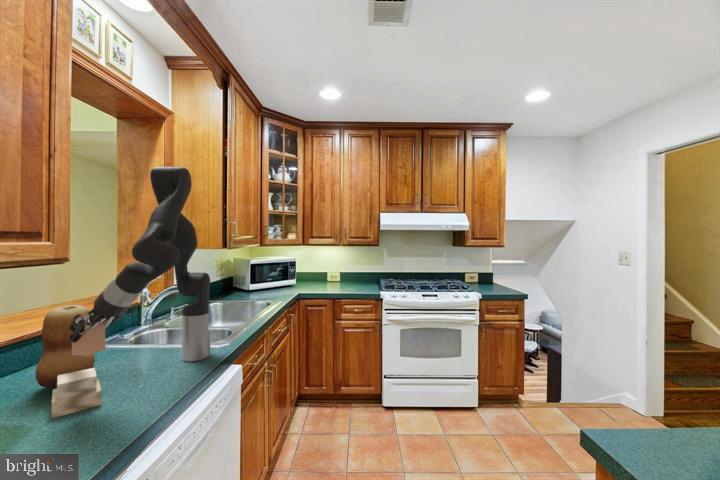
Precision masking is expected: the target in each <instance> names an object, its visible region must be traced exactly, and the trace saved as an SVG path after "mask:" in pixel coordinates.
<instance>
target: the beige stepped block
mask: <svg viewBox="0 0 720 480" xmlns="http://www.w3.org/2000/svg"><path fill="white" fill-rule="evenodd" d="M97 377H98V376H97V372H96V368H95V367H93V368H91V369H86V370H81V371H76V372H71V373H66V374H62V375H58V378H57V388H56V389H55V388H52V393H51V396H52V397H51V419H54V418H59V417H62V416H65V415H68V414H73V413H77V412H81V411H84V410H87V409H91V408H95V407H98V406H102V387H101V383H100V379H99V378H97Z"/></svg>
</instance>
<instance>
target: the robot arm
mask: <svg viewBox="0 0 720 480" xmlns="http://www.w3.org/2000/svg"><path fill="white" fill-rule="evenodd" d="M149 173H150V175H149V178H150V184H151V188H152V190H153V193H154V196H155V199H156V202H157V206H156V207H155V208H153V209H154V210H153V211H152V212H151V214H150V217H149V220H148V223H147V228H146V229H145V231H144V233H143V235H142V236H141V237H139V239H138V240H137V241H136V242H135V243H134V245H133V246H132V249H131V255H132V258H133V259H134V260H136V261H135V262H130V263H128V264H126V266H124V268H123V269H122V270H121V271H120V272H119V274H117V276H116V277H115V278H114V279H113V280H111V281H110V282H108V285H107V286H106V287H105V288H104V289H103V290H102V291H101V293H100V294H99V295H97V297H96V298H95V299H94V301H93V308H92V309H90V311H89V312H88V314H87V315H84V316H81V315H80V314H79V315H76V316H75V317H74V319H73V321H72V323H71V325H70V327H69V329H70V330H71V332H72V334H71V335H70V336H69V339H70V340H71V341H72V342H73V343H75V342H77V341H78V340H79V339H80V338H81V337H82V335H83V334H84V333H85V332H86V331H88V330H89V329H93V328H94V327H95V326H97V325H98V324H99V323H101V322H104V325H105V328H107V327H109V325H114V324H115V323H117V322H118V321H119V320H120V319H121V318H122V317H124V316H125V314H127V313H128V312H129V308H130V307H131V305H133V303H134V302H135V301H136V300H137V299H138V298H139V297H140V295H141V293H142V292H143V291H144V290H145V289H146V287H147V286H148V285H149V284H150V283H151V282H152V281H154V280H155V279H157V278H158V277H160V276H162V275H164V274H165V273H167V272H168V271H170V270H171V269H172V268H174V275H175V280H176V287H177V291H178V293H179V295H180V296H182V297H197V300H196V301H195V302H193V303H190V304H187V305H184V306H183V307H182V309H181V317H182V319H181V322H182V323H181V326H182V327H181V359H182V361H184V362H197V361H201V360H204V359H207V358H208V357H211V332H210V331H209V330H210V328H209V326H210V324H209V323H210V321H209V315H210V314H209V313H210V311H209V310H210V291H211V279H210V278H211V277H210V275H209V273H208V272H190V271H189V270H188V264H189V261H190V259H192V257H193V255H194V253H195V252H196V250H197V247H198V237H197V233H196V228H195V225H193V223H192V221H190V220H189V218H187V216H185V215H184V214H183V213H182V211H183V209H184V207H185V205H186V203H187V201H188V198H189V196H190V194H191V191H192V185H193V184H192V183H193V182H192V176H191V173H190V171H189V169H188V168H187V167H184V166H183V167H182V166H155V167H152V168H151V170H150V172H149ZM88 319H89V321H90V322H91V323H92V325H91V323H90V322H89V321H88ZM84 325H85V328H84V329H83V328H82V327H83V326H84Z"/></svg>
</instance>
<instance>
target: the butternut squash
mask: <svg viewBox="0 0 720 480" xmlns="http://www.w3.org/2000/svg"><path fill="white" fill-rule="evenodd" d="M89 311H91V309H90V308H88V307H86V306H83V305H78V304H70V305H62V306H61V305H60V306H58V307H55V308H52V309H51V310H49V311H48V313H47V314H46V315H45V317H44V319H43V322H42V327H41V342H42V343H41V344H42V353H41V356H40V358H39V361H38V362H37V366H36V369H35V380H36V381H37V384H38V385H39V386H40V387H42V388H45V389H48V390H49V389H51V390H53V389H57V378H58V375H62V374H66V373H71V372H76V371H81V370H86V369H91V368H95V359H96V358H95V354H92V355H89V356H79V355H72V341H71V340H70V339H69V336H70V335H71V334H72V332H71V330H70V329H69V327H70V325H71V323H72V321H73V319H74V317H75V316H76V315H79V314H80V315H81V316H84V315H87V314H88V312H89Z"/></svg>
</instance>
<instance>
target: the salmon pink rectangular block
mask: <svg viewBox="0 0 720 480" xmlns="http://www.w3.org/2000/svg"><path fill="white" fill-rule="evenodd" d="M88 321H89V319H88ZM89 322H90V321H89ZM90 323H91V322H90ZM91 325H92V323H91ZM82 328H83V329H84V328H85V325H84V326H83V327H82ZM105 350H106V327H105V325H104V322H101V323H99V324H98V325H97V326H95V327H94V328H93V329H89V330H88V331H86V332H85V333H84V334H83V335H82V337H81V338H80V339H79V340H78V341H77V342H75V343H73V342H72V355H79V356H89V355H92V354H94V355H95V354H98V353H100V352H102V351H105Z"/></svg>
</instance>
